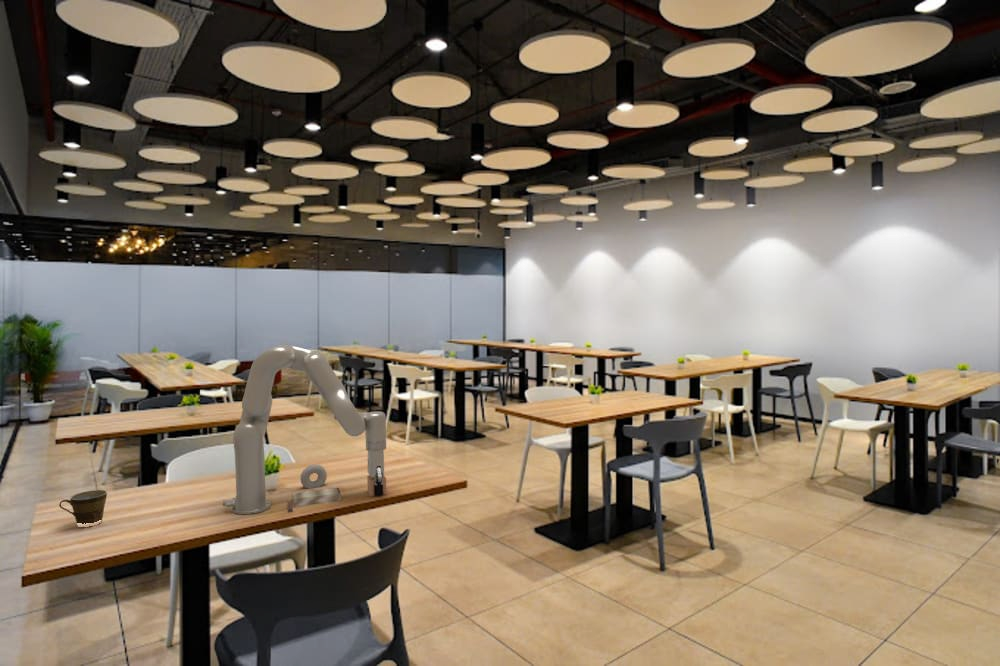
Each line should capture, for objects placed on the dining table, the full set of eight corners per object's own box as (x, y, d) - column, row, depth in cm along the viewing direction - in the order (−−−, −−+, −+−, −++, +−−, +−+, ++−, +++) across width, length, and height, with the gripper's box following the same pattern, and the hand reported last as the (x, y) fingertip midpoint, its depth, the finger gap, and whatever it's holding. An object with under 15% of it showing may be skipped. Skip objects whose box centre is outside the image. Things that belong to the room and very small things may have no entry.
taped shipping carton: (370, 496, 214) (369, 480, 214) (367, 491, 219) (367, 475, 219) (386, 494, 216) (386, 478, 216) (383, 489, 222) (383, 473, 221)
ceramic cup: (110, 517, 200) (108, 488, 199) (105, 526, 191) (104, 496, 190) (63, 523, 194) (62, 494, 193) (57, 534, 185) (55, 503, 184)
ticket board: (288, 512, 202) (287, 500, 202) (287, 503, 211) (287, 492, 211) (391, 498, 215) (391, 487, 215) (386, 491, 224) (386, 480, 224)
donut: (301, 493, 223) (301, 467, 222) (299, 490, 226) (299, 465, 225) (328, 488, 228) (327, 463, 228) (325, 486, 231) (325, 461, 231)
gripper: (362, 441, 224) (363, 487, 225) (369, 451, 208) (370, 500, 208) (382, 439, 226) (383, 484, 227) (390, 449, 210) (391, 498, 211)
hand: (377, 492), depth 218 cm, fingers open, 6 cm apart
